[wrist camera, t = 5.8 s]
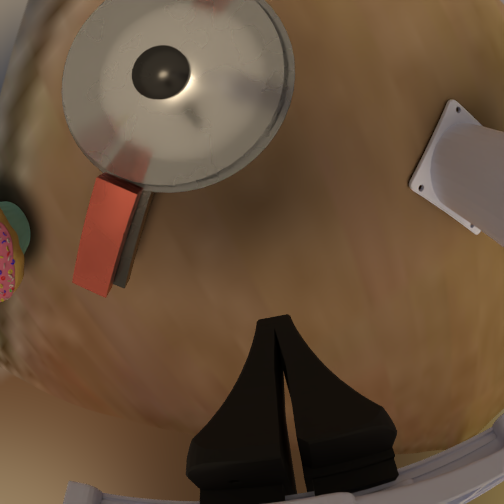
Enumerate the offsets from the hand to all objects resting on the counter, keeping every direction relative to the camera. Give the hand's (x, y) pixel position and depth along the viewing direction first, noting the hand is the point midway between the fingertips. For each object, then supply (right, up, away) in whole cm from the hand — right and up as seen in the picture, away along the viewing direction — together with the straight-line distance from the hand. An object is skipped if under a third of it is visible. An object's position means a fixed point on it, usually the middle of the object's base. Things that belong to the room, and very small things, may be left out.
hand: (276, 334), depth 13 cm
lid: (-6, +11, +1) cm, 12 cm away
